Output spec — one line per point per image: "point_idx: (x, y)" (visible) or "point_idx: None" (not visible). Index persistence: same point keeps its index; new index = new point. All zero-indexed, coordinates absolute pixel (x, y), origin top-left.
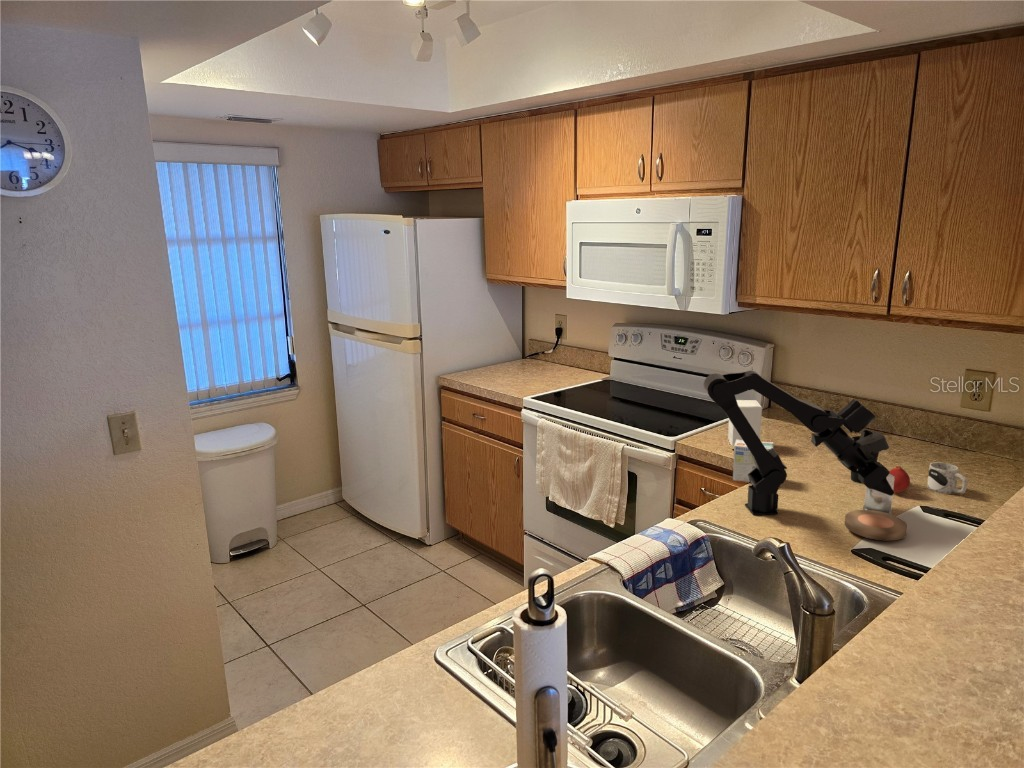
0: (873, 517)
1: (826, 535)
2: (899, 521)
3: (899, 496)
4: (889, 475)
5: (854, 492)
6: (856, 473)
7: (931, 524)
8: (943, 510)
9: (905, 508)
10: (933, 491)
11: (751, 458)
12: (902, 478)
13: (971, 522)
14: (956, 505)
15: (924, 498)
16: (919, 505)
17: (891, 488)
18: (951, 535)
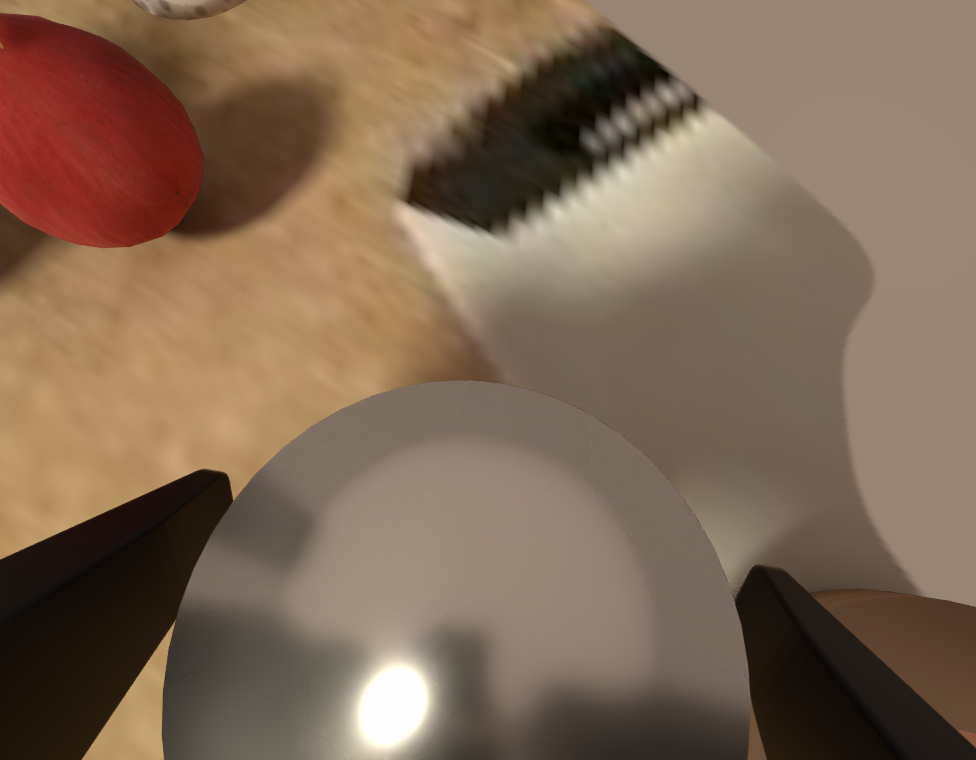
0: None
1: None
2: (955, 655)
3: (226, 231)
4: (471, 450)
5: (46, 514)
6: None
7: (702, 302)
8: (490, 117)
9: (427, 311)
10: (215, 14)
11: None
12: (136, 115)
13: (670, 80)
14: (431, 20)
15: (297, 112)
16: (395, 199)
17: (890, 673)
18: (872, 285)
